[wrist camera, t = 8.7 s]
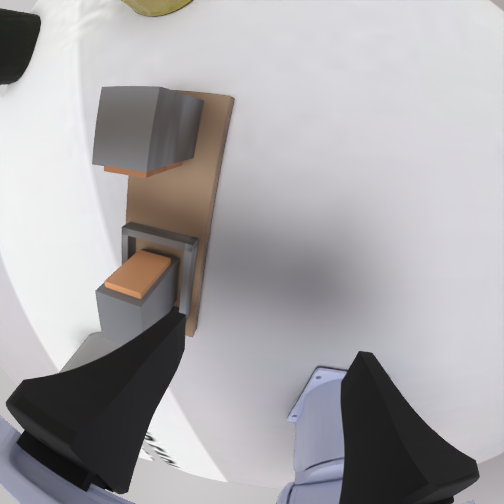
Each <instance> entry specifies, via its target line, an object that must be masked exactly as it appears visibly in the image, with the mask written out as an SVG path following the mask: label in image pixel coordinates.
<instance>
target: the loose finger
mask: <svg viewBox="0 0 504 504" xmlns="http://www.w3.org/2000/svg"><path fill="white" fill-rule="evenodd" d="M179 267H180V258H177V257H173V256H170V255H166V254H162V253H158V252H155V251H151V250H147V249H144V248H142V249H141V250H139V251H138V252H137V253H135V254H134V255H133V256H132V257H131V258H130V259H128V260H127V261H126V262H125V263H124V264H123V265H122V266H121V267H120V268H118V269H117V270H116V271H115V272H114V273H113V274H112V275H111V276H110V277H108V278H107V279H106V280H105V282H104V283H103V284H102V285H101V286H100V287H99V288H98V289H97V290H96V299H97V306H98V313H99V319H100V325H101V330H102V336H103V337H104V338H106V339H109V340H111V341H114V342H116V343H118V344H121V345H124V344H126V343H127V342H129V341H130V340H132V339H134V338H135V337H136V336H138V335H139V334H141V333H142V332H144V331H145V330H146V329H148V328H149V327H151V326H152V325H153V324H155V323H156V322H157V321H158V320H160V319H161V318H162V317H164V316H165V315H166V314H167V313H169V312H170V310H171V309H172V307H173V306H174V304H175V302H176V301H177V293H178V279H179Z"/></svg>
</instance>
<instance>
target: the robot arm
mask: <svg viewBox="0 0 504 504" xmlns="http://www.w3.org/2000/svg"><path fill="white" fill-rule="evenodd" d="M185 328H186V314H183V313H179V312H176V311H170V312H169V313H167V314H166V315H165V316H164V317H162V318H161V319H160V320H158V321H157V322H156V323H155V324H153V325H152V326H151V327H149V328H148V329H146V330H145V331H144V332H142V333H141V334H139V335H138V336H136V337H135V338H134V339H132V340H130V341H129V342H127V343H126V344H124V345H122V346H121V347H119V348H117V349H116V350H114V351H112V352H110V353H108V354H107V355H105V356H103V357H101V358H99V359H96V360H94V361H92V362H90V363H87V364H85V365H82V366H80V367H77V368H74V369H71V370H68V371H65V372H61V373H58V374H54V375H50V376H45V377H39V378H33V379H26V380H23V381H22V382H21V384H20V385H19V386H18V387H17V388H16V390H15V391H14V392H13V394H12V395H11V396H10V397H9V399H8V400H7V401H6V406H7V408H8V410H9V411H10V413H11V414H12V415H13V416H14V418H15V419H16V420H17V422H18V423H19V424H20V425H21V426H22V427H23V429H25V430H24V432H23V433H22V435H21V434H20V433H19V432H18V431H17V430H16V429H15V428H14V427H13V426H12V425H10V424H9V423H8V422H7V421H6V420H5V419H4V418H2V417H1V416H0V485H1V486H2V487H3V488H4V489H5V490H6V491H7V492H8V493H9V494H10V495H11V496H12V497H13V498H14V499H15V500H16V501H17V502H18V503H19V504H135V503H132V502H130V501H128V500H125V499H123V498H121V497H118V496H116V495H114V494H112V493H110V492H108V491H106V490H105V489H107V490H109V491H111V492H116V493H118V494H124V493H127V492H128V490H129V486H130V482H131V479H132V475H133V471H134V467H135V465H136V461H137V458H138V455H139V452H140V449H141V446H142V443H143V441H144V438H145V435H146V432H147V430H148V427H149V424H150V422H151V419H152V417H153V414H154V412H155V410H156V408H157V406H158V404H159V403H160V401H161V399H162V397H163V395H164V393H165V391H166V389H167V388H168V386H169V384H170V382H171V380H172V378H173V376H174V374H175V372H176V370H177V368H178V366H179V363H180V360H181V358H182V355H183V352H184V349H185ZM287 420H288V421H289V422H293V423H296V426H295V444H294V459H293V466H294V470H295V482H290V483H288V484H287V485H286V486H285V487H284V489H283V490H282V491H281V493H280V494H279V496H278V499H277V503H276V504H452V503H453V502H454V498H453V496H454V495H456V494H457V493H459V492H461V491H462V490H464V489H466V488H467V487H469V486H470V485H472V484H473V483H474V482H476V481H477V480H478V479H479V471H478V467H477V463H476V460H474V459H472V458H471V457H469V456H467V455H465V454H464V453H462V452H460V451H459V450H457V449H456V448H455V447H453V446H452V445H450V444H449V443H448V442H446V441H445V440H444V439H443V438H441V437H440V436H439V435H438V434H437V433H436V432H435V431H434V430H432V429H431V428H430V427H429V426H428V425H427V424H426V423H425V422H424V421H423V419H422V418H421V417H420V416H419V415H418V414H417V413H416V412H415V411H414V409H413V408H412V407H411V406H410V405H409V403H408V402H407V401H406V399H405V398H404V397H403V396H402V394H401V393H400V392H399V390H398V389H397V387H396V386H395V385H394V383H393V382H392V380H391V379H390V377H389V376H388V375H387V373H386V372H385V370H384V369H383V367H382V366H381V364H380V363H379V362H378V360H377V359H376V357H375V356H374V355H373V353H370V352H363V351H359V352H358V354H357V356H356V358H355V359H354V361H353V363H352V365H351V366H350V368H349V370H348V371H347V372H346V371H339V370H333V369H326V368H318V369H316V370H315V372H314V374H313V375H312V377H311V379H310V381H309V382H308V384H307V386H306V388H305V389H304V391H303V393H302V395H301V396H300V398H299V400H298V401H297V403H296V405H295V406H294V408H293V409H292V411H291V413H290V414H289V416H288V419H287ZM464 504H475V503H474V500H471V501H469V502H466V503H464Z"/></svg>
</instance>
